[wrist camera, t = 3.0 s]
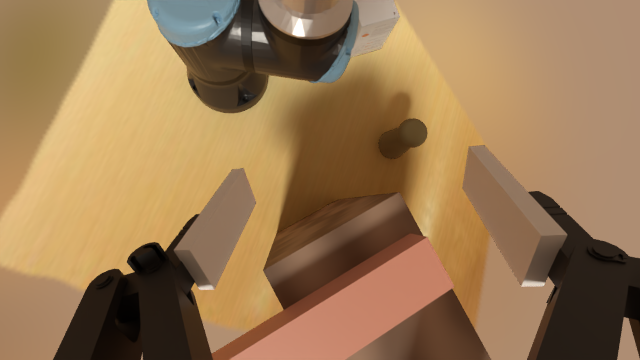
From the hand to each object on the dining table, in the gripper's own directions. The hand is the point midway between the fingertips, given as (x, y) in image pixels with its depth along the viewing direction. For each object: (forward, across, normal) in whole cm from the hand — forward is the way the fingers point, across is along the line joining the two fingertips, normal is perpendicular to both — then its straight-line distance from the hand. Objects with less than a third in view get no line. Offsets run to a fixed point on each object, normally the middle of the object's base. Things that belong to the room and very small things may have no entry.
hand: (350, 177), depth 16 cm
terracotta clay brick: (-1, -4, -13) cm, 14 cm away
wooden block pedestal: (+21, -7, -34) cm, 40 cm away
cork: (+40, +7, -18) cm, 44 cm away
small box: (+53, +2, +1) cm, 53 cm away
